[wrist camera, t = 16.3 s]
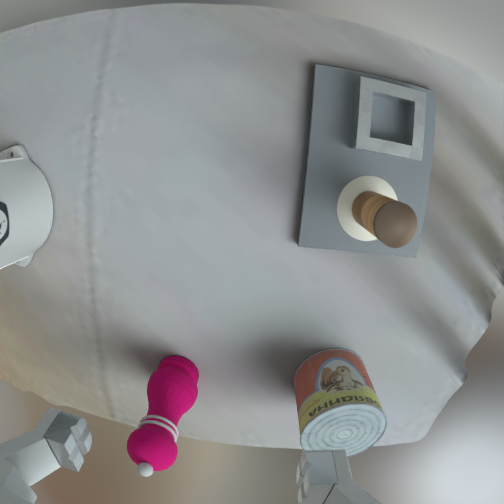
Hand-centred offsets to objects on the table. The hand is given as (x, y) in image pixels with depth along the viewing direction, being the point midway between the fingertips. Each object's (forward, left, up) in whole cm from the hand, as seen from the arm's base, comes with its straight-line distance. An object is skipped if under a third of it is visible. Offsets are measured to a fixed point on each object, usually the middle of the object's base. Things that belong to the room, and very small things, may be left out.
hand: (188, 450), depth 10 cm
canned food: (+15, -21, -31) cm, 41 cm away
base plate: (+15, +10, -31) cm, 36 cm away
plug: (+15, +5, -30) cm, 34 cm away
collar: (+16, +16, -30) cm, 37 cm away
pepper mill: (-8, -22, -31) cm, 39 cm away
